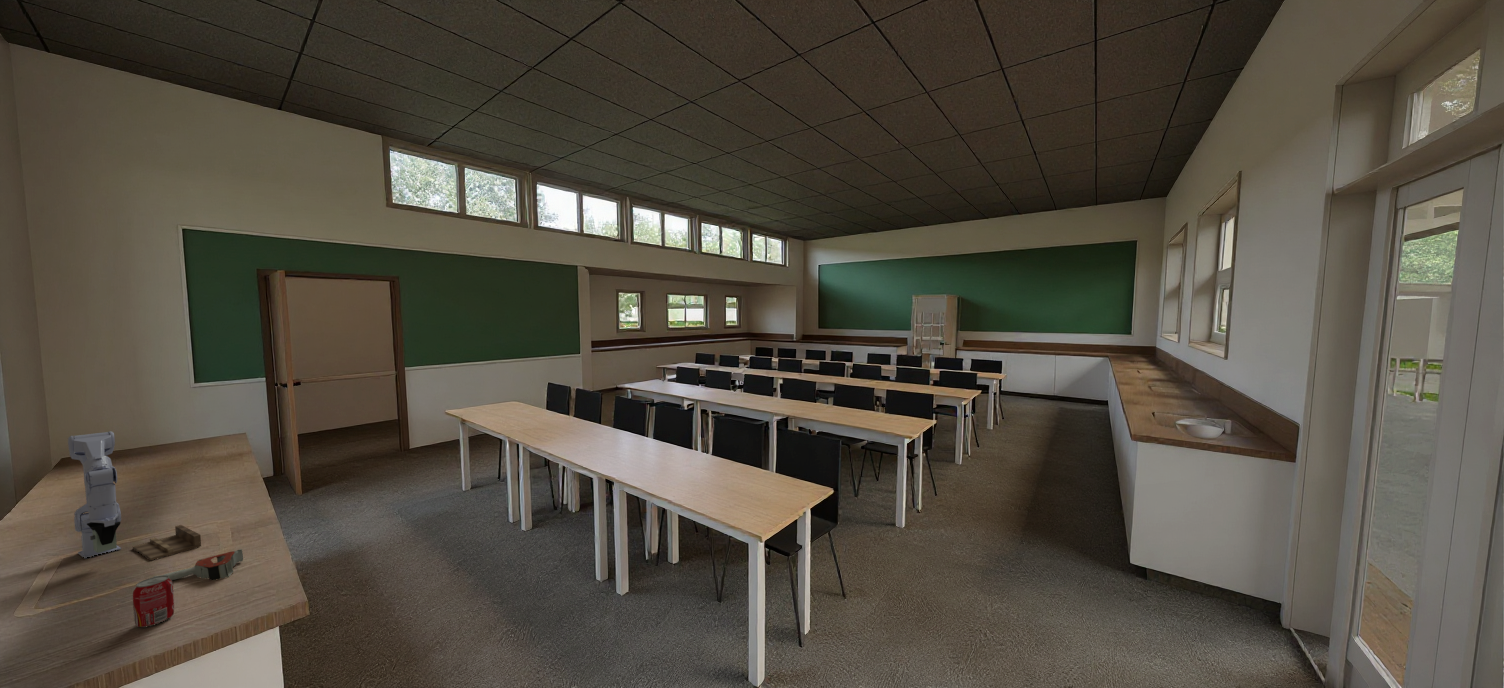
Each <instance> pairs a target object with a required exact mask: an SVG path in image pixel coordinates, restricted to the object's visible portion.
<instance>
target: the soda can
mask: <svg viewBox="0 0 1504 688" xmlns="http://www.w3.org/2000/svg"><path fill="white" fill-rule="evenodd" d="M161 575H162V576H159V575H155V576H156V577H154V576H153V577H149V578H145V579H143V580H141V581H139V582H138V583H136V585H135V586H136V587H135V588H134V590H133V592H132V606H133V607H132V609H133V621H134V624H135V626H136V627H138V628H147V627H146V626H150V627H152V626H151V625H154V624H157V625H159V624H158V623H160V622H162V623H164V622H166V621H168V620H169V619H170V618H171V617H172V616H173V615H174V613H175V597H174V595H175V593H174V583H173V580H170V579H169V576H167V575H164V574H161ZM168 618H169V619H168ZM167 619H168V620H167ZM165 620H166V621H165ZM163 621H164V622H163ZM160 624H161V623H160ZM154 626H155V625H154Z"/></svg>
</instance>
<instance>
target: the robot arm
mask: <svg viewBox="0 0 1504 688" xmlns="http://www.w3.org/2000/svg"><path fill="white" fill-rule="evenodd" d="M67 444H68V445H67V446H68V447H67V448H68V452H69V457H70V459H72V460H76V461H77V460H78V461H80V463H81V464H82V469H83V470H82V471H83V482H84V483H83V484H84V489H85V501H86V503H85V504H82V506H80V507H79V508H78V509H76V510H75V511H74V516H73V520H74V522H73V523H74V530H75V532H77V533H81V548H82V549H81V551H77V554H78V555H80V556H81V558H83V557H84V558H83V559H88V558H87V557H90V558H92V557H91V556H93V557H95V556H94V555H97V556H99V555H98V554H101V555H103V554H102V553H105V554H107V553H106V552H108V553H112V552H115V550H116V551H119V550H121V549H122V548H121V547H120V546H119V545H117V548H114V549H110V550H107V551H103V552H99V553H97V552H96V551H94V547H93V540H90V536H93V532H92V530H95V531H96V533H97V534H98V536H99V539H100V542H101V544H102V545H106V544H110V543H112V542H113V539H114V535H115V532H116V533H117V530H118V528H119V526H120V525H121V521H122V513H121V508H120V503H118V502H117V492H116V491H117V490H116V484H118V483H117V482H118V472H117V471H118V470H117V469H116V467H115V466H113V462H112V459H111V457H109V455H111V454H113V451H114V450H115V445H116V438H115V433H114V431H112V430H110V431H109V430H108V431H106V432H96V433H87V434H78V435H70V436H69V437H68V438H67ZM111 551H112V552H111Z"/></svg>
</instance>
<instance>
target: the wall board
mask: <svg viewBox="0 0 1504 688" xmlns="http://www.w3.org/2000/svg"><path fill="white" fill-rule="evenodd" d="M174 528H175V529H174V531H175V535H171V536H166V537H163V538H159V539H158V538H157V537H151V538H149V541H148V542H144V543H141V544H136V545H133V546H132V550H133V549H134V550H133V551H135V552H136V553H138V552H139V553H138V554H140V555H141V554H142V555H141V556H142V557H144V556H145V557H144V558H145V559H147V558H148V559H147V560H148V561H150V560H152V561H155V560H154V559H156V560H158V559H157V558H159V559H161V558H160V557H163V556H166V557H168V556H167V555H169V556H172V555H171V554H173V555H176V554H180V553H182V552H186V550H187V551H189V549H190V550H194V549H197V548H200V547H199V546H201V547H202V540H201V534H200V533H199V532H196V531H194V530H192V529H190V528H188V527H186V526H184V525H182V524H180V525H175V527H174ZM196 547H197V548H196ZM193 548H194V549H193ZM179 552H180V553H179ZM175 553H176V554H175ZM163 558H164V557H163Z"/></svg>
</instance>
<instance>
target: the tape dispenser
mask: <svg viewBox="0 0 1504 688" xmlns="http://www.w3.org/2000/svg"><path fill="white" fill-rule="evenodd" d="M243 554H244V553H243V549H242V548H241V549H240V548H239V549H237V550H233V551H227V552H224V553H221V554H216V555H212V556H209V557H206V558H202V559H199V560H197V561H196V563H195V564H194V565H193V566H192V567H190V568H184V569H180V570H177V571H172V572H167V573H164V574H160V575H158V576H162V575H167V576H169V579H170V580H172V581H175V580H179V579H182V578H185V577H188V576H192V575H195V576H196V577H197V578H199V577H201V578H200V579H203V578H206V579H209V580H210V581H217V580H216V579H218V580H221V579H220V578H222V579H226V578H225V577H227V578H230V577H231V576H232V575H233V574H234V573H233V572H234V567H235V566H236V564H238V563H240V562H243V561H244V555H243ZM215 558H216V562H213V561H212V560H213V559H215ZM232 573H233V574H232ZM231 574H232V575H231ZM230 575H231V576H230ZM156 576H157V575H154V576H153V577H156ZM229 576H230V577H229Z"/></svg>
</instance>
